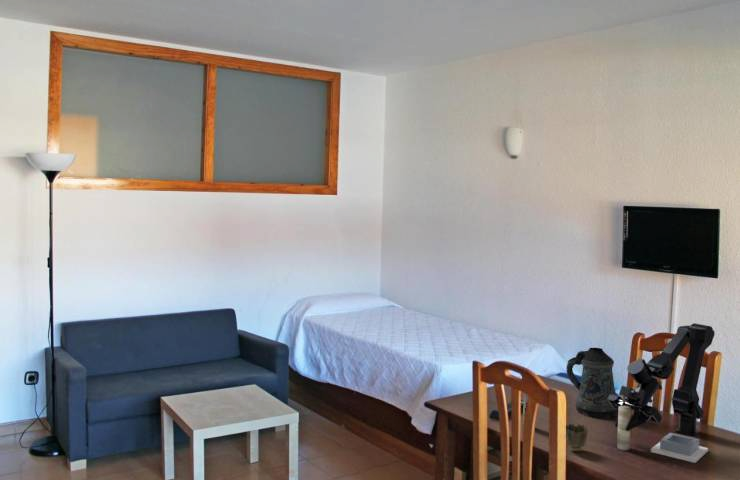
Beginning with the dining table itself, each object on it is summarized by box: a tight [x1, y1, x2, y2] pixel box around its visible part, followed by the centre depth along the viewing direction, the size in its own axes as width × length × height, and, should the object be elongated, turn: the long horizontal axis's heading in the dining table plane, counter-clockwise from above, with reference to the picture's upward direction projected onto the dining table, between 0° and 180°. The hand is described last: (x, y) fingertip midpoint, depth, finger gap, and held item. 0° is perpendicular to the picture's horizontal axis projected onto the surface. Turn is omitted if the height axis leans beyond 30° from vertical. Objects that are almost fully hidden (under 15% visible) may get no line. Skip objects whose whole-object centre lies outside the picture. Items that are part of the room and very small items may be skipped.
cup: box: [565, 423, 589, 453], centre depth 231 cm, size 8×7×8 cm
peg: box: [616, 406, 632, 451], centre depth 233 cm, size 4×4×14 cm
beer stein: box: [565, 347, 617, 419], centre depth 272 cm, size 16×19×25 cm
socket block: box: [650, 432, 709, 464], centre depth 231 cm, size 14×14×4 cm
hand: (621, 428), depth 232 cm, fingers closed on peg, 4 cm apart
